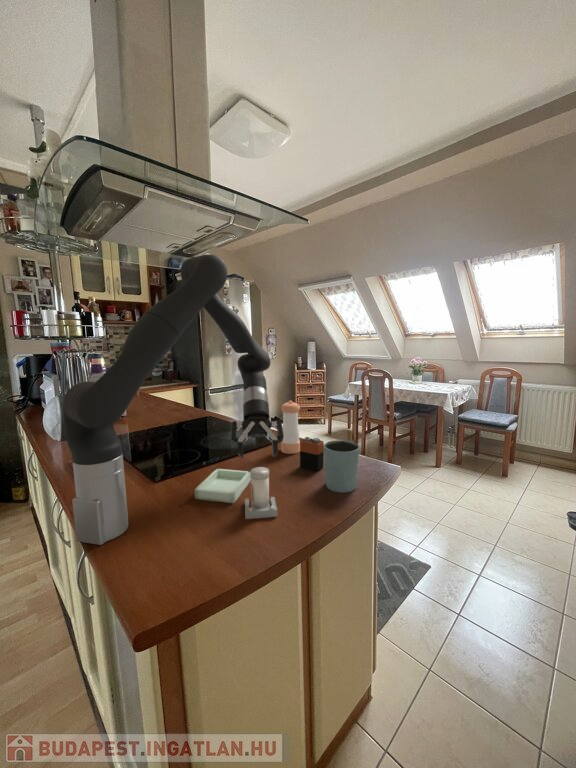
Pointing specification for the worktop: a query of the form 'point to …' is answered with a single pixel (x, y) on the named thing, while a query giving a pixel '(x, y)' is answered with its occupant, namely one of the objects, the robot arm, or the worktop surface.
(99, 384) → the robot arm
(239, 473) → the tray
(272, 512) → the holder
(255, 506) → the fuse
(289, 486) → the worktop surface
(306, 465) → the battery
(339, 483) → the teal cup
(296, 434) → the salt shaker
